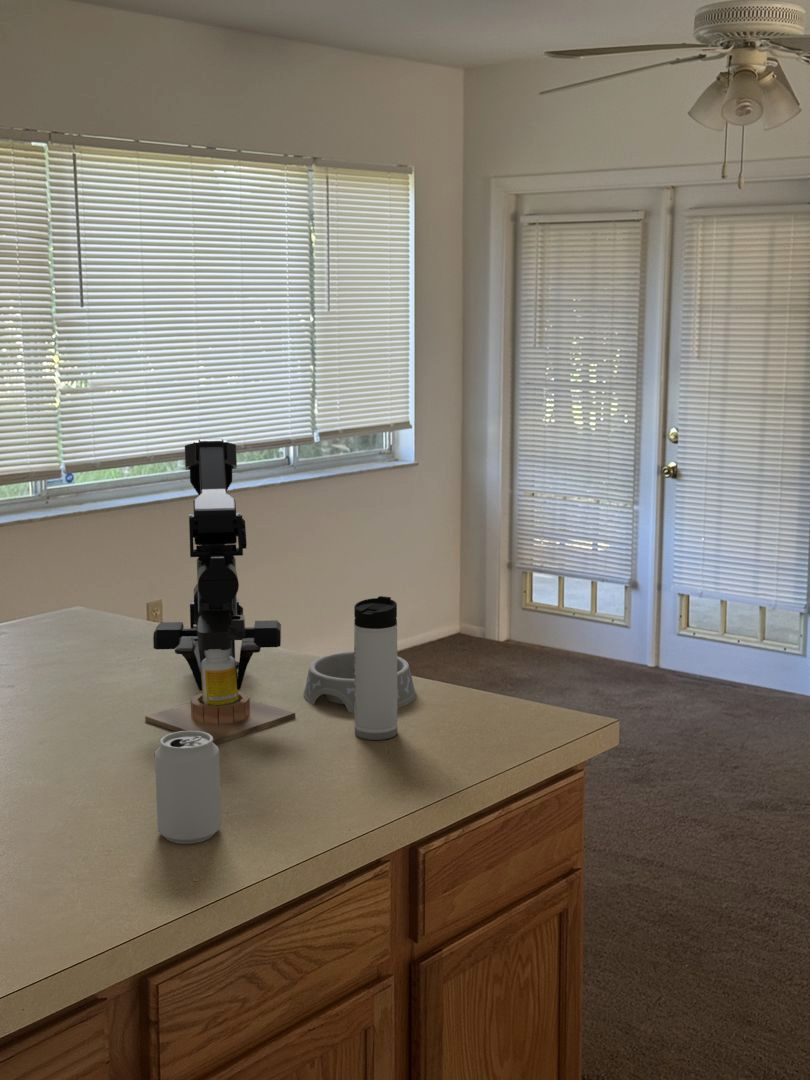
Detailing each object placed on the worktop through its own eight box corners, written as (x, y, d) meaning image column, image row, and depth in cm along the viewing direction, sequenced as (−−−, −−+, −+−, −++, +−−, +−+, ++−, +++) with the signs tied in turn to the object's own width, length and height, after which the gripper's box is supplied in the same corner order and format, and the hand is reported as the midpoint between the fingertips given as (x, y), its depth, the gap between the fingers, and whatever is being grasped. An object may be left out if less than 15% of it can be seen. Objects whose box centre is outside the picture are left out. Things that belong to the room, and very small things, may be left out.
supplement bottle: (196, 706, 191) (192, 645, 189) (227, 698, 194) (222, 638, 192) (215, 714, 187) (210, 652, 185) (245, 706, 190) (241, 645, 188)
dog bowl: (380, 720, 191) (380, 686, 190) (282, 701, 201) (281, 669, 200) (434, 691, 206) (434, 659, 205) (340, 674, 215) (340, 644, 214)
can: (161, 821, 153) (157, 727, 151) (223, 819, 154) (220, 726, 152) (154, 847, 146) (150, 749, 144) (219, 845, 146) (216, 747, 144)
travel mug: (405, 729, 186) (405, 598, 183) (385, 743, 181) (385, 608, 177) (367, 723, 189) (366, 594, 185) (347, 736, 183) (346, 603, 179)
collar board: (225, 696, 202) (225, 676, 201) (295, 717, 192) (295, 697, 191) (145, 721, 190) (144, 700, 189) (215, 745, 180) (214, 723, 179)
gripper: (146, 603, 178) (150, 708, 181) (278, 601, 180) (280, 705, 183) (156, 585, 189) (159, 684, 192) (280, 583, 191) (282, 682, 194)
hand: (219, 689), depth 190 cm, fingers closed on supplement bottle, 5 cm apart
